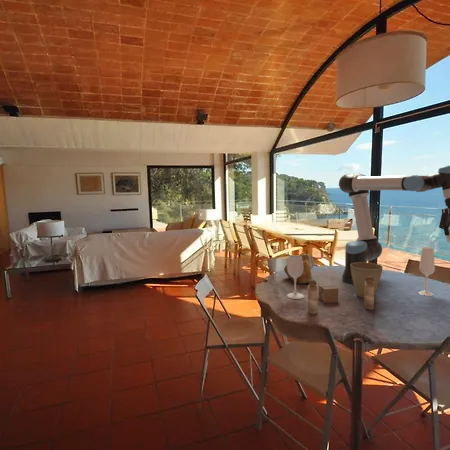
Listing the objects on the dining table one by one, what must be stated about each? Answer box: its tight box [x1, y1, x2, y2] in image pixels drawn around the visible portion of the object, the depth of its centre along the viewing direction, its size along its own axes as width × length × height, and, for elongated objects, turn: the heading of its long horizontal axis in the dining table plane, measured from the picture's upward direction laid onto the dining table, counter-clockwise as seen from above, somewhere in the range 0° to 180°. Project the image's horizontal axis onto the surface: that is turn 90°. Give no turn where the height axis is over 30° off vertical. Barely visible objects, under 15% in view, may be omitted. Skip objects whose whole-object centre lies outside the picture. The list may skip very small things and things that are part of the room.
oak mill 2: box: [363, 276, 375, 311], centre depth 136 cm, size 4×4×15 cm
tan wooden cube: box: [317, 283, 339, 304], centre depth 148 cm, size 7×7×7 cm
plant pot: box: [350, 261, 384, 299], centre depth 152 cm, size 15×15×16 cm
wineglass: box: [286, 255, 305, 300], centre depth 154 cm, size 9×9×21 cm
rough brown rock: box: [283, 253, 313, 284], centre depth 184 cm, size 23×17×15 cm
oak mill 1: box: [307, 279, 318, 315], centre depth 133 cm, size 4×4×15 cm
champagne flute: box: [417, 246, 436, 297], centre depth 152 cm, size 7×7×24 cm
